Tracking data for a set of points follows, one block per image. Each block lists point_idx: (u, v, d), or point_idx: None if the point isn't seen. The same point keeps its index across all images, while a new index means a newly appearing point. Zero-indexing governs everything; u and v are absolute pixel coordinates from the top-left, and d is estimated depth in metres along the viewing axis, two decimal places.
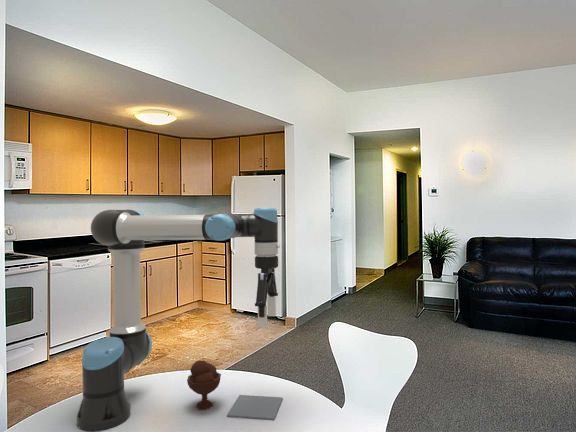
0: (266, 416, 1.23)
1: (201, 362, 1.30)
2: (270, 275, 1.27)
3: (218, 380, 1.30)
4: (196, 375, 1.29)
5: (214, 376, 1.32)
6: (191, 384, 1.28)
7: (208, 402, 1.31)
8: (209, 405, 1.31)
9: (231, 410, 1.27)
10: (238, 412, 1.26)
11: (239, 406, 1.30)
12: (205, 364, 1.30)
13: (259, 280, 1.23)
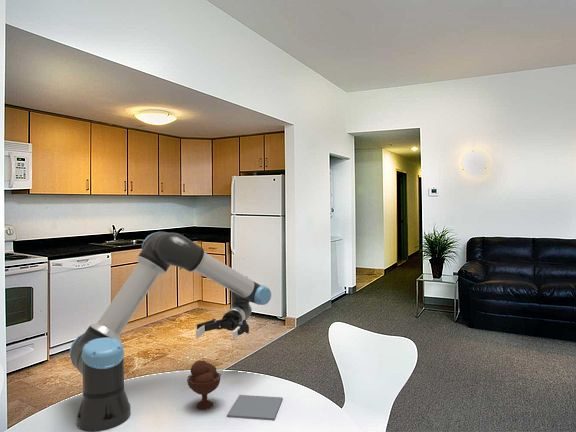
0: (266, 416, 1.23)
1: (201, 362, 1.30)
2: None
3: (218, 380, 1.30)
4: (196, 375, 1.29)
5: (214, 376, 1.32)
6: (191, 384, 1.28)
7: (208, 402, 1.31)
8: (209, 405, 1.31)
9: (231, 410, 1.27)
10: (238, 412, 1.26)
11: (239, 406, 1.30)
12: (205, 364, 1.30)
13: None
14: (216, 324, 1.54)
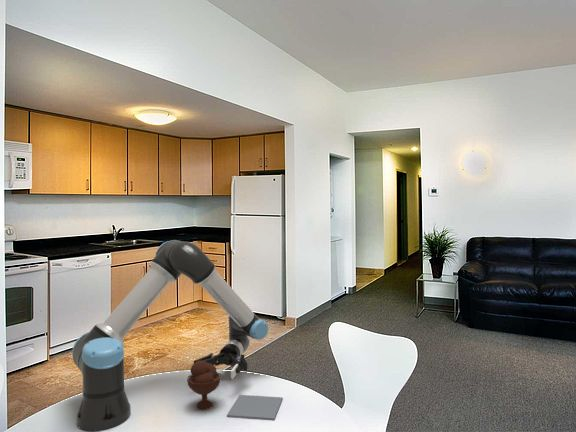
0: (266, 416, 1.23)
1: (201, 362, 1.30)
2: None
3: (218, 380, 1.30)
4: (196, 375, 1.29)
5: (214, 376, 1.32)
6: (191, 384, 1.28)
7: (208, 402, 1.31)
8: (209, 405, 1.31)
9: (231, 410, 1.27)
10: (238, 412, 1.26)
11: (239, 406, 1.30)
12: (205, 364, 1.30)
13: None
14: (213, 360, 1.50)
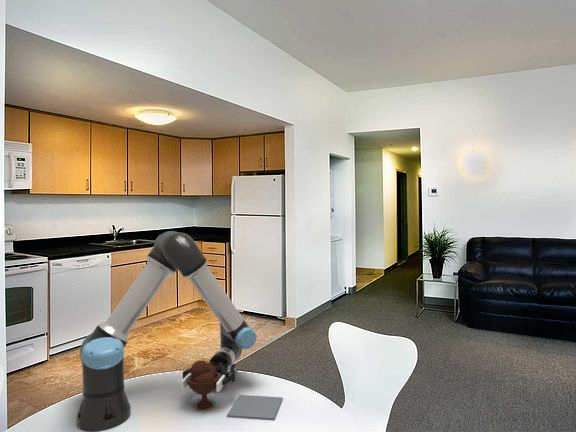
0: (266, 416, 1.23)
1: (201, 362, 1.30)
2: None
3: (218, 380, 1.30)
4: (196, 375, 1.29)
5: (214, 376, 1.32)
6: (191, 384, 1.28)
7: (208, 402, 1.31)
8: (209, 405, 1.31)
9: (231, 410, 1.27)
10: (238, 412, 1.26)
11: (239, 406, 1.30)
12: (205, 364, 1.30)
13: (234, 367, 1.41)
14: None
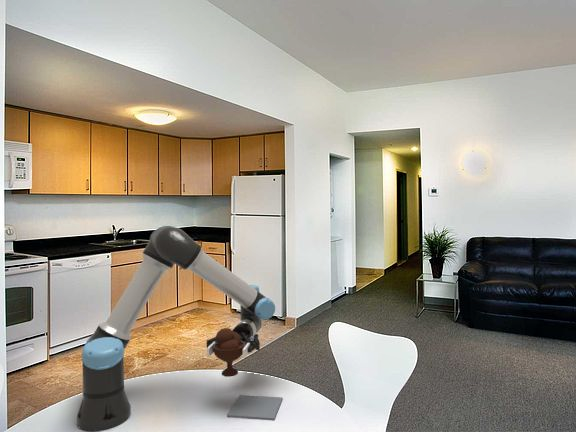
0: (266, 416, 1.23)
1: (226, 329, 1.30)
2: None
3: (243, 347, 1.30)
4: (222, 342, 1.29)
5: (239, 343, 1.32)
6: (217, 351, 1.28)
7: (233, 369, 1.31)
8: (234, 372, 1.31)
9: (231, 410, 1.27)
10: (238, 412, 1.26)
11: (239, 406, 1.30)
12: (230, 331, 1.30)
13: (257, 337, 1.41)
14: None
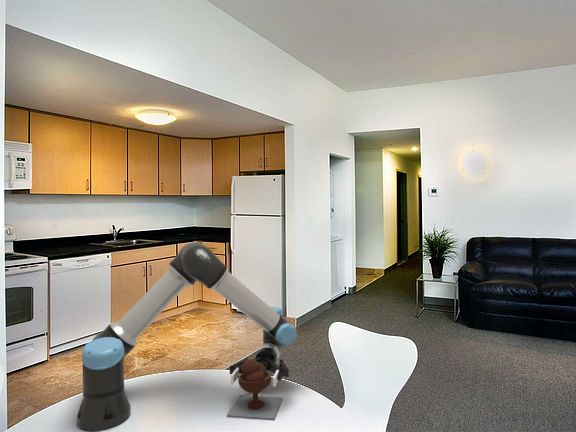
0: (266, 416, 1.23)
1: (251, 361, 1.29)
2: None
3: (269, 378, 1.29)
4: (247, 374, 1.27)
5: (264, 375, 1.30)
6: (243, 383, 1.26)
7: (259, 401, 1.30)
8: (261, 404, 1.29)
9: (231, 410, 1.27)
10: (238, 412, 1.26)
11: (239, 406, 1.30)
12: (256, 362, 1.29)
13: None
14: None
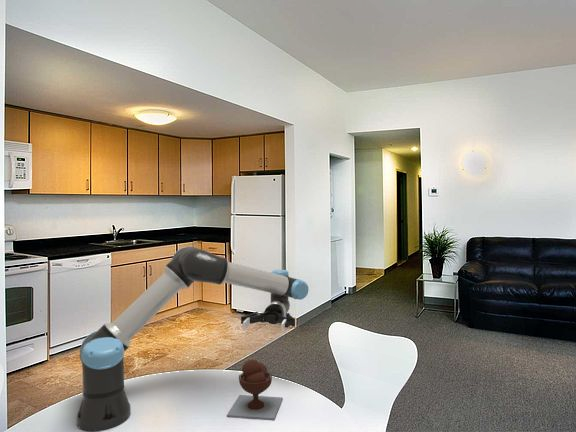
0: (266, 416, 1.23)
1: (253, 361, 1.29)
2: None
3: (270, 380, 1.28)
4: (248, 374, 1.27)
5: (265, 375, 1.30)
6: (244, 384, 1.26)
7: (259, 402, 1.30)
8: (261, 405, 1.29)
9: (231, 410, 1.27)
10: (238, 412, 1.26)
11: (239, 406, 1.30)
12: (257, 363, 1.28)
13: None
14: (260, 317, 1.51)
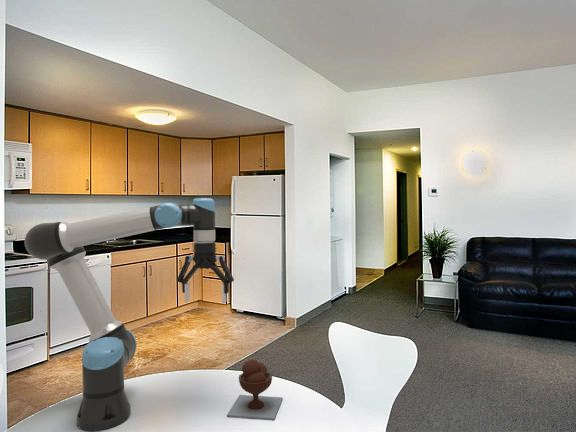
0: (266, 416, 1.23)
1: (253, 361, 1.29)
2: None
3: (270, 380, 1.28)
4: (248, 374, 1.27)
5: (265, 375, 1.30)
6: (244, 384, 1.26)
7: (259, 402, 1.30)
8: (261, 405, 1.29)
9: (231, 410, 1.27)
10: (238, 412, 1.26)
11: (239, 406, 1.30)
12: (257, 363, 1.28)
13: (223, 262, 1.40)
14: (194, 270, 1.42)
